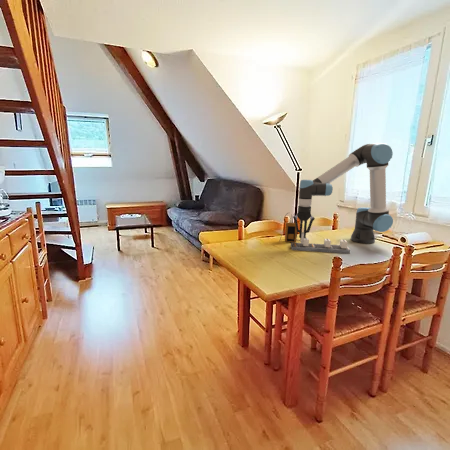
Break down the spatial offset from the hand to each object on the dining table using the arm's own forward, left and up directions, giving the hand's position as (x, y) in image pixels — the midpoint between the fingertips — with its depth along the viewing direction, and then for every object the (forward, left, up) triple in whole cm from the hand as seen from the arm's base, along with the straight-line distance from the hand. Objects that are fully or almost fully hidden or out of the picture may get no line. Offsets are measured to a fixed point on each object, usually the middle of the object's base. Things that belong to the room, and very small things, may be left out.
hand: (301, 243), depth 181 cm
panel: (-11, 0, -3) cm, 11 cm away
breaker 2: (-15, 0, -1) cm, 15 cm away
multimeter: (+6, -17, -4) cm, 18 cm away
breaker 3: (-25, 0, -1) cm, 25 cm away
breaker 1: (-2, 0, -1) cm, 2 cm away
